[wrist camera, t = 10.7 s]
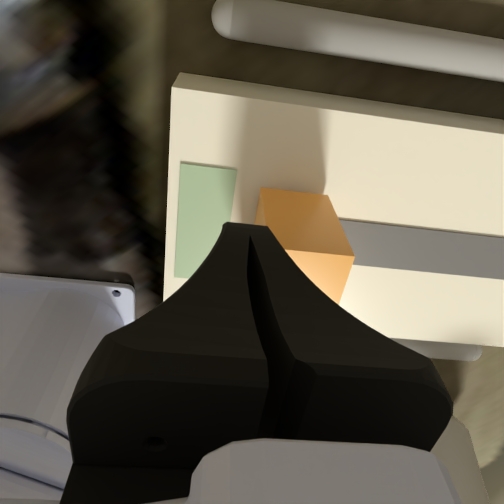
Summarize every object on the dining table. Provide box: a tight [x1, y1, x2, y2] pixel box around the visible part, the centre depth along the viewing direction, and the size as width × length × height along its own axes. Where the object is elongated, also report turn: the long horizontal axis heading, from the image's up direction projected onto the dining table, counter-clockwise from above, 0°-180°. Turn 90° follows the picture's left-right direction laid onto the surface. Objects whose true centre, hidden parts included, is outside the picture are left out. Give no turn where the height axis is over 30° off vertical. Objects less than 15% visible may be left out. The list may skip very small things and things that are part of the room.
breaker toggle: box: [254, 187, 355, 305], centre depth 17 cm, size 3×5×5 cm, turn 171°
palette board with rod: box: [211, 0, 504, 361], centre depth 22 cm, size 20×19×2 cm
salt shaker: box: [430, 415, 490, 504], centre depth 28 cm, size 6×6×13 cm
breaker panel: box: [163, 72, 504, 347], centre depth 21 cm, size 22×12×3 cm, turn 82°
